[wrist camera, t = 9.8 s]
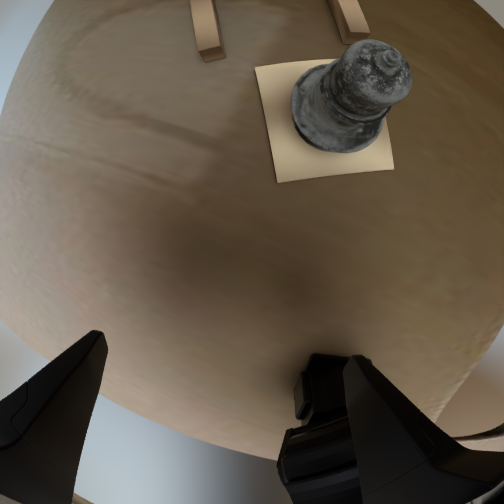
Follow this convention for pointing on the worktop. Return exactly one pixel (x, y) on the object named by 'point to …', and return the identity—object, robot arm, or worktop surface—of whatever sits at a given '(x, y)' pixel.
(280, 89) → the cork mat
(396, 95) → the grey chess piece
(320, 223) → the worktop surface
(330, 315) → the worktop surface
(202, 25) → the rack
